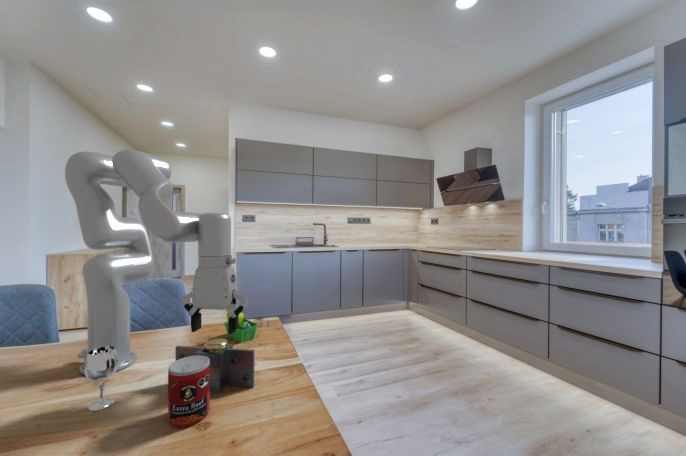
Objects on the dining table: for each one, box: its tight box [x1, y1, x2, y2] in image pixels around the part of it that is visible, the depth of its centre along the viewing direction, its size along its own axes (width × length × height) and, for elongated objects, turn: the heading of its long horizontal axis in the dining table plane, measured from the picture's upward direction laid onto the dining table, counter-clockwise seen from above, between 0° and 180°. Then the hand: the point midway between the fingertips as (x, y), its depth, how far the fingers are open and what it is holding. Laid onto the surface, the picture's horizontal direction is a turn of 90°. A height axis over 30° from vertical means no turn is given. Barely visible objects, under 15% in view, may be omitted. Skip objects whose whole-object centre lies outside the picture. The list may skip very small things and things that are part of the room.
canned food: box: [167, 355, 211, 429], centre depth 62 cm, size 8×8×11 cm
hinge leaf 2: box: [195, 343, 255, 393], centre depth 74 cm, size 13×6×9 cm, turn 83°
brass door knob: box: [204, 338, 228, 353], centre depth 74 cm, size 5×5×10 cm
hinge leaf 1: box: [174, 345, 226, 379], centre depth 74 cm, size 13×6×9 cm, turn 83°
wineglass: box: [84, 346, 118, 412], centre depth 65 cm, size 6×6×12 cm
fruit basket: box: [223, 312, 259, 344], centre depth 105 cm, size 11×9×11 cm
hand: (214, 331), depth 74 cm, fingers open, 9 cm apart
